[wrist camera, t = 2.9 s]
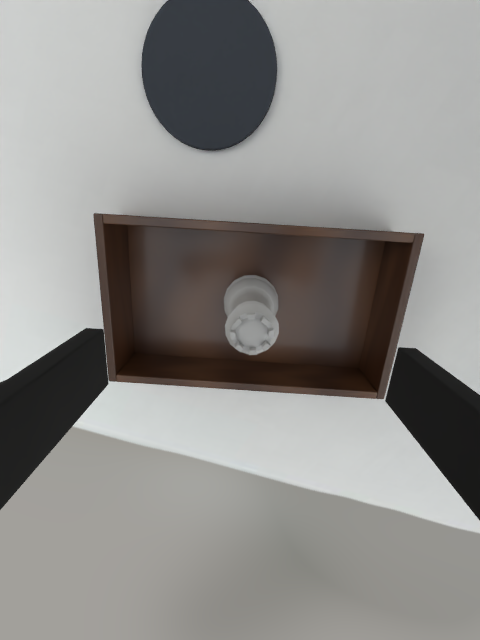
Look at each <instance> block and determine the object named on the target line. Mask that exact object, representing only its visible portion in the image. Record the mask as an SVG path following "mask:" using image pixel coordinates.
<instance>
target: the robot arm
mask: <svg viewBox="0 0 480 640" xmlns="http://www.w3.org/2000/svg"><path fill="white" fill-rule="evenodd" d="M107 385H108V375H107V364H106V353H105V342H104V331H103V329H90V328H86V329H84V330H83V331H81V332H80V333H78V334H76V335H75V336H73V337H72V338H70V339H69V340H67V341H66V342H64V343H63V344H61V345H60V346H58V347H57V348H55V349H53V350H52V351H50V352H49V353H47V354H46V355H44V356H43V357H41V358H40V359H38V360H37V361H35V362H34V363H32V364H30V365H29V366H27V367H26V368H24V369H23V370H21V371H20V372H18V373H17V374H15V375H14V376H12V377H11V378H9V379H7V380H5V381H3V382H0V509H1V508H2V507H3V506H4V505H5V504H6V503H7V502H8V500H9V499H10V498H11V497H12V496H13V495H14V493H15V492H16V491H17V490H18V489H19V488H20V486H21V485H22V484H23V483H24V482H25V480H26V479H27V478H28V477H29V476H30V475H31V474H32V472H33V471H34V470H35V469H36V468H37V467H38V465H39V464H40V463H41V462H42V461H43V460H44V458H45V457H46V456H47V455H48V454H49V453H50V451H51V450H52V449H53V448H54V447H55V446H56V444H57V443H58V442H59V441H60V440H61V439H62V437H63V436H64V435H65V434H66V433H67V432H68V430H69V429H70V428H71V427H72V426H73V425H74V423H75V422H76V421H77V420H78V419H79V418H80V416H81V415H82V414H83V413H84V412H85V411H86V410H87V408H88V407H89V406H90V405H91V404H92V403H93V401H94V400H95V399H96V398H97V397H98V396H99V394H100V393H101V392H102V391H103V390H104V389H105V387H106V386H107ZM385 401H386V402H387V404H388V405H389V406H390V408H391V409H392V410H393V411H394V413H395V414H396V415H397V416H398V418H399V419H400V420H401V421H402V423H403V424H404V425H405V427H406V428H407V429H408V430H409V432H410V433H411V434H412V435H413V437H414V438H415V439H416V440H417V442H418V443H419V444H420V446H421V447H422V448H423V449H424V451H425V452H426V453H427V454H428V456H429V457H430V458H431V459H432V461H433V462H434V463H435V464H436V466H437V467H438V468H439V470H440V471H441V472H442V473H443V475H444V476H445V477H446V478H447V480H448V481H449V482H450V483H451V485H452V486H453V487H454V489H455V490H456V491H457V492H458V494H459V495H460V496H461V497H462V499H463V500H464V501H465V502H466V504H467V505H468V506H469V507H470V509H471V510H472V511H473V513H474V514H475V515H476V516H477V518H478V519H479V520H480V395H479V394H477V393H476V392H475V391H473V390H472V389H471V388H469V387H468V386H466V385H465V384H464V383H462V382H461V381H460V380H458V379H457V378H455V377H454V376H453V375H451V374H450V373H449V372H447V371H446V370H445V369H443V368H442V367H440V366H439V365H438V364H436V363H435V362H434V361H432V360H431V359H429V358H428V357H427V356H425V355H424V354H423V353H421V352H420V351H419V350H417V349H416V348H398V352H397V356H396V360H395V364H394V368H393V372H392V376H391V380H390V384H389V388H388V392H387V396H386V400H385Z"/></svg>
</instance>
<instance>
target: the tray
mask: <svg viewBox="0 0 480 640" xmlns="http://www.w3.org/2000/svg"><path fill="white" fill-rule="evenodd" d="M94 225H95V236H96V247H97V258H98V268H99V279H100V290H101V301H102V312H103V323H104V334H105V344H106V355H107V366H108V377H109V381H117V382H130V383H145V384H161V385H176V386H191V387H206V388H221V389H236V390H251V391H267V392H282V393H297V394H312V395H327V396H342V397H357V398H373V399H384V396H385V392H386V388H387V384H388V380H389V376H390V372H391V368H392V364H393V360H394V356H395V352H396V347H397V343H398V339H399V335H400V331H401V327H402V323H403V319H404V315H405V311H406V307H407V303H408V299H409V295H410V291H411V286H412V282H413V278H414V274H415V270H416V266H417V262H418V258H419V254H420V250H421V246H422V242H423V238H424V234H421V233H404V232H388V231H372V230H356V229H340V228H324V227H307V226H291V225H275V224H259V223H243V222H226V221H210V220H194V219H178V218H162V217H146V216H129V215H113V214H97V213H94ZM247 275H257V276H259V277H262V278H265V279H266V280H268V281H269V282H270V283H271V284H272V285H273V286H274V288H275V290H276V293H277V295H278V311H277V313H276V316H275V317H276V319H277V321H278V323H279V334H278V336H277V339H276V341H275V343H274V344H273V345H272V346H271V347H270V348H269V349H268V350H266V351H263V352H261V353H259V354H257V355H249V354H246V353H243V352H240V351H238V350H236V349H235V348H234V347H233V346H232V345H230V343H229V341H228V339H227V337H226V333H225V324H226V321H227V318H228V317H227V315H226V313H225V309H224V296H225V294H226V291H227V288H228V287H229V286H230V285H231V284H232V282H233V281H234V280H236V279H238V278H240V277H242V276H247Z"/></svg>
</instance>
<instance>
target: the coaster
mask: <svg viewBox="0 0 480 640" xmlns="http://www.w3.org/2000/svg"><path fill="white" fill-rule="evenodd" d="M276 76H277V61H276V53H275V47H274V43H273V40H272V36H271V34H270V31H269V29H268V27H267V25H266V23H265V21H264V19H263V18H262V16H261V15H260V13H259V12H258V11H257V9H256V8H255V7H254V6H253V5H252V4H251V3H250V2H249V1H248V0H168V1H167V2H166V3H165V4H164V5H163V6H162V7H161V9H160V10H159V11H158V13H157V14H156V16H155V17H154V19H153V21H152V23H151V25H150V27H149V29H148V32H147V35H146V38H145V42H144V47H143V53H142V78H143V84H144V89H145V92H146V96H147V99H148V101H149V104H150V106H151V108H152V110H153V112H154V114H155V115H156V117H157V118H158V120H159V121H160V123H161V124H162V125H163V126H164V127H165V129H166V130H167V131H168V132H169V133H170V134H171V135H173V136H174V137H175V138H176V139H178V140H179V141H181V142H182V143H184V144H186V145H188V146H191V147H194V148H197V149H202V150H221V149H225V148H229V147H231V146H234V145H236V144H238V143H240V142H241V141H243V140H244V139H246V138H247V137H248V136H249V135H251V134H252V133H253V132H254V130H255V129H256V128H257V127H258V126H259V124H260V123H261V122H262V120H263V119H264V117H265V115H266V113H267V112H268V109H269V107H270V104H271V102H272V98H273V95H274V90H275V85H276Z"/></svg>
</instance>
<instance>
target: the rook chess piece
mask: <svg viewBox="0 0 480 640" xmlns="http://www.w3.org/2000/svg"><path fill="white" fill-rule="evenodd" d="M224 309H225V313H226V315H227V317H228V318H227V321H226V324H225V333H226V337H227V339H228V341H229V343H230V345H232V346H233V347H234V348H235V349H236V350H238V351H240V352H243V353H246V354H249V355H257V354H259V353H261V352H263V351H266V350H268V349H269V348H270V347H271V346H272V345H273V344H274V343H275V341H276V339H277V336H278V334H279V323H278V321H277V319H276V317H275V316H276V313H277V311H278V295H277V293H276V290H275V288H274V286H273V285H272V284H271V283H270V282H269V281H268V280H266V279H265V278H262V277H259V276H257V275H247V276H242V277H240V278H238V279H236V280H234V281H233V282H232V284H231V285H230V286H229V287H228V288H227V291H226V294H225V296H224Z"/></svg>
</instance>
